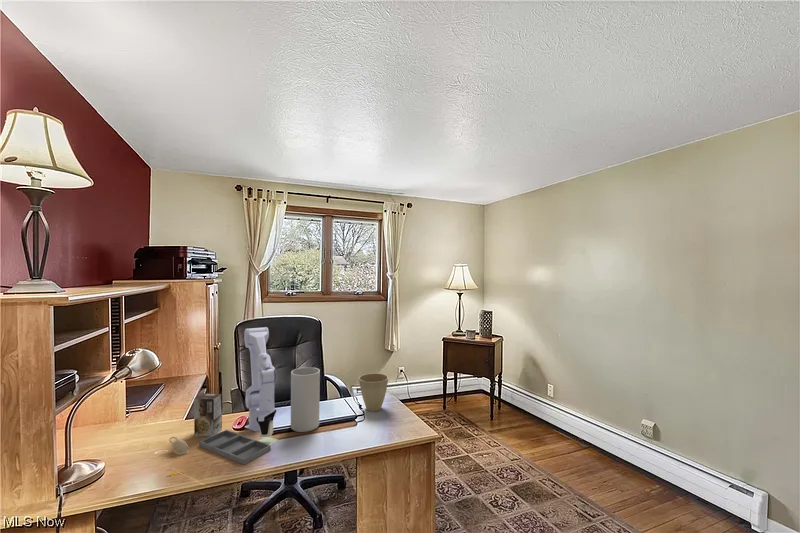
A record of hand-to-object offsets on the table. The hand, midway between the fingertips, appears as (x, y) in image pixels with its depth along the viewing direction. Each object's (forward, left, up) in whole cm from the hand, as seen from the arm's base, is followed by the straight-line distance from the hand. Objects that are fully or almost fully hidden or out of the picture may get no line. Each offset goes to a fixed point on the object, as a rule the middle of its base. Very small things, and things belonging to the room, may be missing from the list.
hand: (266, 431), depth 150 cm
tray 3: (+10, +3, -4) cm, 11 cm away
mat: (0, 0, -4) cm, 4 cm away
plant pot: (-52, +18, -5) cm, 55 cm away
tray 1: (+10, -16, -4) cm, 19 cm away
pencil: (+26, -5, -5) cm, 27 cm away
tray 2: (+10, -7, -4) cm, 13 cm away
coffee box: (+7, -28, -5) cm, 29 cm away
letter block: (0, 0, -1) cm, 1 cm away
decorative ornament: (+22, -22, -5) cm, 32 cm away
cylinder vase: (-19, +3, -5) cm, 20 cm away
